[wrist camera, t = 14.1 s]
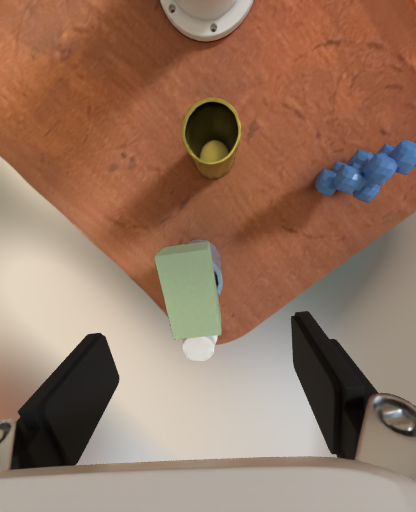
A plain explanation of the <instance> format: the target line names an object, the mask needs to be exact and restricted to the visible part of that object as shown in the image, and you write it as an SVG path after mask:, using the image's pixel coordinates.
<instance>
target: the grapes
mask: <svg viewBox="0 0 416 512" xmlns="http://www.w3.org/2000/svg"><path fill="white" fill-rule="evenodd" d="M415 166H416V143H415V142H412V141H408V140H404V139H403V140H402V141H401V142H400V143H399V144H398V145H397V146H396V147H394V146H391V145H387V144H385V145H384V146H383V147H382V148H381V149H380V150H379V151H378V152H377V154H374V153H370V152H367V151H364V150H360V149H359V150H358V151H357V152H356V153H355V154H354V156H353V157H352V158H351V160H350V161H349V162H348V163H347V164H344V163H341V162H337V163H336V164H335V165H334V166H333V168H332V169H331V170H329V169H325V168H324V169H323V170H322V171H321V172H320V174H319V175H318V177H317V179H316V190H317V191H318V192H320V193H322V194H325V195H328V196H332V195H333V194H334V193H335V191H336V190H339V191H341V192H344V193H347V194H352V193H353V196H354V197H355V198H357V199H358V200H361V201H363V202H367V203H369V202H370V201H371V200H372V199H373V198H374V197H375V196H376V195H377V194H378V192H379V190H380V189H381V188H380V185H381V186H382V185H383V184H384V183H386V182H387V181H388V180H389V179H390V178H391V177H392V175H393V174H394V172H397V173H400V174H404V175H406V174H407V173H409V172H410V171H411V170H412V169H413V168H414V167H415Z"/></svg>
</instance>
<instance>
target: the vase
mask: <svg viewBox="0 0 416 512" xmlns="http://www.w3.org/2000/svg"><path fill="white" fill-rule="evenodd" d="M241 132H242V128H241V123H240V120H239V116H238V114H237V112H236V110H235V109H234V107H233V106H232V105H231V104H229V103H228V102H227V101H225V100H223V99H219V98H213V97H210V98H205V99H203V100H200V101H198V102H196V103H195V104H194V105H193V106H192V107H191V108H190V109H189V110H188V112H187V114H186V116H185V118H184V121H183V125H182V140H183V143H184V146H185V148H186V150H187V152H188V153H189V155H190V156H191V157H192V158H193V159H194V162H195V165H196V167H197V169H198V171H199V172H200V173H201V174H202V175H204V176H206V177H208V178H213V179H215V178H220V177H223V176H224V175H226V174H227V173H228V172H229V171H230V170H231V168H232V166H233V164H234V160H235V153H236V151H237V148H238V146H239V143H240V137H241Z"/></svg>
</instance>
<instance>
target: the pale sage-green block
mask: <svg viewBox="0 0 416 512" xmlns="http://www.w3.org/2000/svg"><path fill="white" fill-rule="evenodd" d="M154 258H155V262H156V267H157V271H158V275H159V279H160V283H161V288H162V292H163V296H164V300H165V304H166V309H167V313H168V317H169V321H170V325H171V330H172V333H173V338H174V339H184V338H194V337H204V336H215V335H221V313H220V307H219V301H218V294H217V288H216V281H215V275H214V268H213V262H212V256H211V249H210V243H209V241H205V242H198V243H191V244H184V245H177V246H169V247H163V248H162V249H161V250H160V251H159V252H158V253H157V254H156V255H155V256H154Z"/></svg>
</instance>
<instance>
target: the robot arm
mask: <svg viewBox="0 0 416 512" xmlns="http://www.w3.org/2000/svg"><path fill="white" fill-rule="evenodd" d="M160 2H161V5H162V8H163V10H164V12H165V14H166V16H167V17H168V19H169V20H170V21H171V23H172V24H173V26H174V27H175V28H177V29H178V30H179V31H180V32H181V33H182V34H184V35H186V36H187V37H189V38H192V39H195V40H198V41H213V40H218V39H220V38H223V37H225V36H227V35H228V34H230V33H231V32H233V31H234V30H235V29H236V28H237V27H238V26H239V25H240V24H241V23H242V22H243V20H244V19H245V17H246V16H247V14H248V13H249V11H250V8H251V6H252V4H253V2H254V0H160ZM173 12H174V13H173ZM212 31H215V32H212ZM291 325H292V348H293V364H294V368H295V371H296V373H297V376H298V378H299V380H300V383H301V385H302V387H303V390H304V392H305V394H306V397H307V399H308V401H309V404H310V406H311V409H312V411H313V413H314V415H315V418H316V420H317V423H318V425H319V427H320V430H321V432H322V434H323V436H324V439H325V441H326V444H327V446H328V448H329V450H330V452H331V453H332V454H336V455H337V457H338V458H334V457H333V458H332V457H259V458H236V459H235V458H233V459H208V460H207V459H206V460H182V461H159V462H140V463H138V462H137V463H115V464H96V465H78V466H77V465H76V464H77V463H78V461H79V459H80V457H81V455H82V453H83V451H84V450H85V448H86V446H87V444H88V442H89V439H90V438H91V436H92V434H93V432H94V430H95V428H96V426H97V424H98V422H99V420H100V418H101V417H102V415H103V413H104V411H105V409H106V407H107V405H108V403H109V401H110V399H111V397H112V395H113V393H114V391H115V390H116V388H117V386H118V383H119V375H118V371H117V369H116V366H115V363H114V360H113V357H112V354H111V352H110V349H109V346H108V343H107V340H106V337H105V336H103V335H102V334H101V333H95V334H88V335H87V336H86V337H85V338H84V339H83V340H82V341H81V342H80V344H78V346H77V347H76V348H75V349H74V350H73V351H72V352H71V353H70V354H69V356H68V357H67V358H66V359H65V360H64V361H63V362H62V363H61V364H60V366H59V367H58V368H57V369H56V370H55V371H54V372H53V373H52V374H51V375H50V376H49V378H48V379H47V380H46V381H45V382H44V383H43V384H42V385H41V386H40V388H39V389H38V390H37V391H36V392H35V393H34V394H33V395H32V396H31V398H29V400H28V401H27V402H26V403H25V404H24V405H23V406H22V407H21V408H20V410H19V411H18V413H19V415H20V418H19V419H18V420H17V421H15V420H14V419H12V418H11V419H10V418H8V419H4V420H1V421H0V512H416V406H415V405H413V404H412V403H410V402H409V401H407V400H405V399H403V398H401V397H398V396H395V395H392V394H387V393H378V392H377V391H376V389H375V388H374V387H373V386H372V384H371V383H370V382H369V380H368V379H367V378H366V377H365V375H364V374H363V373H362V372H361V370H360V369H359V368H358V367H357V366H356V364H355V363H354V361H353V360H352V359H351V358H350V356H349V355H348V354H347V353H346V351H345V350H344V349H343V348H342V346H341V345H340V344H339V343H338V342H337V341H336V340H335V339H329V338H328V337H327V336H326V334H325V333H324V332H323V330H322V329H321V328H320V326H319V325H318V323H317V322H316V321H315V319H314V318H313V317H312V315H311V314H310V313H309V312H308V311H305V312H296V313H295V316H292V317H291ZM74 465H76V466H74Z"/></svg>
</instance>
